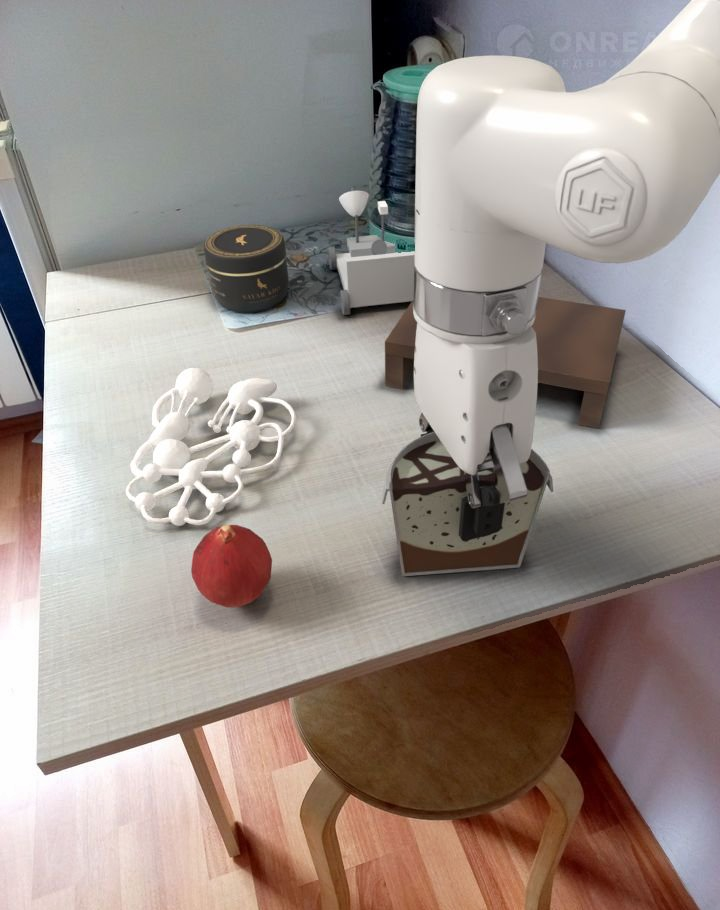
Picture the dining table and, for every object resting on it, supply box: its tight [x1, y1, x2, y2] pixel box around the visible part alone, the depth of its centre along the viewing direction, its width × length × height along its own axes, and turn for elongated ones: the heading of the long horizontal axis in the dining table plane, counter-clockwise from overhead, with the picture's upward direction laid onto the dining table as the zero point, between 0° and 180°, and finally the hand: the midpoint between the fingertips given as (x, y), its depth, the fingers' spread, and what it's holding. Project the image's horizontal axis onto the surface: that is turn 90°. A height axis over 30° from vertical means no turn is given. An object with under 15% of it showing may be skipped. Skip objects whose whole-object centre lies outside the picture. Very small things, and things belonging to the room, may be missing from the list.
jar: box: [203, 224, 289, 314], centre depth 88 cm, size 10×10×8 cm
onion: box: [190, 524, 273, 608], centre depth 52 cm, size 6×6×8 cm
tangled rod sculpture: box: [125, 367, 297, 527], centre depth 66 cm, size 19×14×4 cm
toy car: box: [327, 186, 414, 316], centre depth 90 cm, size 18×10×12 cm
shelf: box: [384, 296, 626, 429], centre depth 75 cm, size 22×14×6 cm, turn 68°
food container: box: [381, 432, 554, 577], centre depth 55 cm, size 12×6×10 cm, turn 94°
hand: (458, 499), depth 54 cm, fingers closed on food container, 6 cm apart
